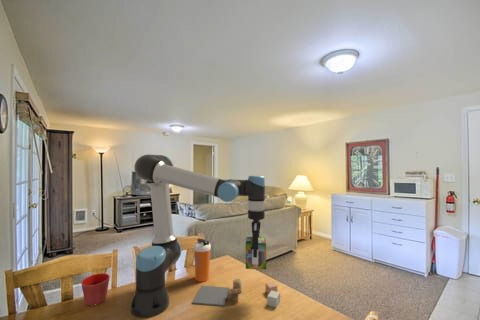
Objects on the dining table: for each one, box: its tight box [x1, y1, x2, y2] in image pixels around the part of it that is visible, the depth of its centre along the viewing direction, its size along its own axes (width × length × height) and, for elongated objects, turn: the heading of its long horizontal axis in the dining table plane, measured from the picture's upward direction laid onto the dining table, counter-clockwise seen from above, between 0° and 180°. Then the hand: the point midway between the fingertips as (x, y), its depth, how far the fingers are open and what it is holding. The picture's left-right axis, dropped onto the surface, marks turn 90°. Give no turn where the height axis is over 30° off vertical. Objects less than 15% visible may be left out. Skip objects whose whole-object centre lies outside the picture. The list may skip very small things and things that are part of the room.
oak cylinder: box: [232, 278, 243, 295], centre depth 112 cm, size 4×4×5 cm
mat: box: [192, 285, 231, 307], centre depth 108 cm, size 14×14×1 cm
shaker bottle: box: [193, 238, 212, 283], centre depth 124 cm, size 9×9×20 cm
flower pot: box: [80, 272, 110, 306], centre depth 104 cm, size 11×11×10 cm
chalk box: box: [245, 236, 267, 270], centre depth 107 cm, size 9×9×15 cm
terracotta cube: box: [265, 281, 278, 296], centre depth 111 cm, size 4×4×4 cm
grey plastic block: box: [267, 290, 281, 308], centre depth 103 cm, size 4×5×4 cm
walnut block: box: [227, 288, 239, 304], centre depth 105 cm, size 4×4×4 cm
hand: (255, 259), depth 107 cm, fingers closed on chalk box, 9 cm apart
